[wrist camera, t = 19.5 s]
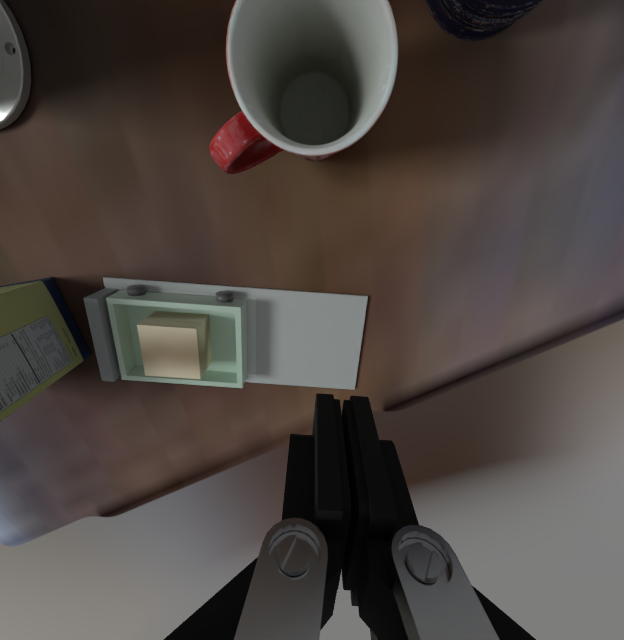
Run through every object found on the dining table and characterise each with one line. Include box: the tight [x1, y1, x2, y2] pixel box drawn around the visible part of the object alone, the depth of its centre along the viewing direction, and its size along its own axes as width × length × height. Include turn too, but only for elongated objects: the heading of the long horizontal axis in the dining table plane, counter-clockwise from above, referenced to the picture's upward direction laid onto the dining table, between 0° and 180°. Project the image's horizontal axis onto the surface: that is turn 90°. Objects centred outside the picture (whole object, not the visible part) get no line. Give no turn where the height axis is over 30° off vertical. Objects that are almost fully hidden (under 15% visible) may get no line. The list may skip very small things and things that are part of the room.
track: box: [83, 277, 368, 390], centre depth 36 cm, size 30×12×4 cm, turn 86°
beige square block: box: [137, 311, 212, 379], centre depth 35 cm, size 6×6×4 cm
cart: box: [106, 285, 247, 388], centre depth 36 cm, size 14×12×3 cm
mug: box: [209, 0, 398, 174], centre depth 23 cm, size 13×9×14 cm
